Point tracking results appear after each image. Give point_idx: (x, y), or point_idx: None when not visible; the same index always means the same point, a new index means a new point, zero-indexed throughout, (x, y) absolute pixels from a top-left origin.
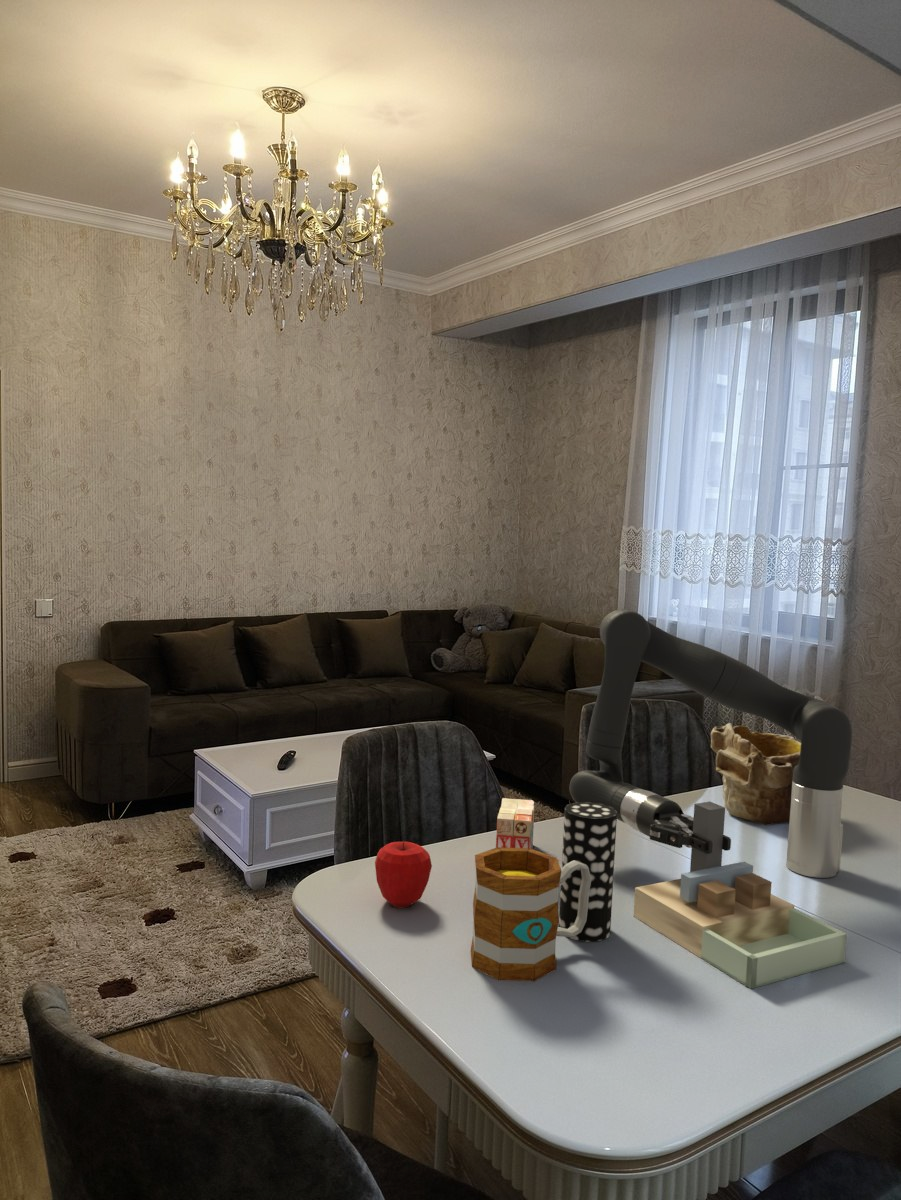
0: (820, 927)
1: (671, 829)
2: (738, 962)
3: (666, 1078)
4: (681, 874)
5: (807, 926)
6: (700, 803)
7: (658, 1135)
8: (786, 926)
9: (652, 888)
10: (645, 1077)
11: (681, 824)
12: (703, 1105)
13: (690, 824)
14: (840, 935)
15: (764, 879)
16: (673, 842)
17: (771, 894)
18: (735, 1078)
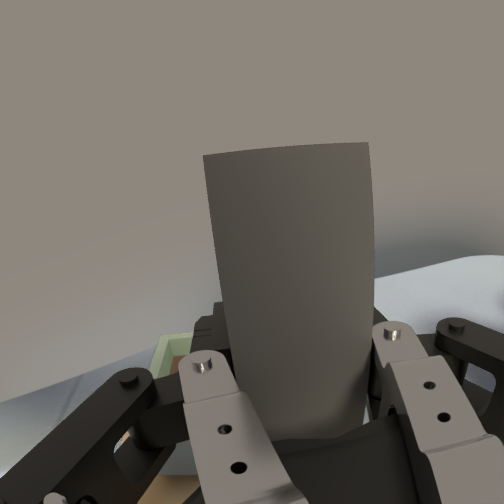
0: (164, 360)
1: (500, 354)
2: None
3: (466, 276)
4: None
5: None
6: (316, 145)
7: (470, 258)
8: None
9: None
10: (479, 276)
11: (433, 374)
12: (446, 267)
13: (303, 460)
14: (173, 334)
15: (176, 366)
16: (469, 393)
17: (125, 436)
18: (421, 277)
